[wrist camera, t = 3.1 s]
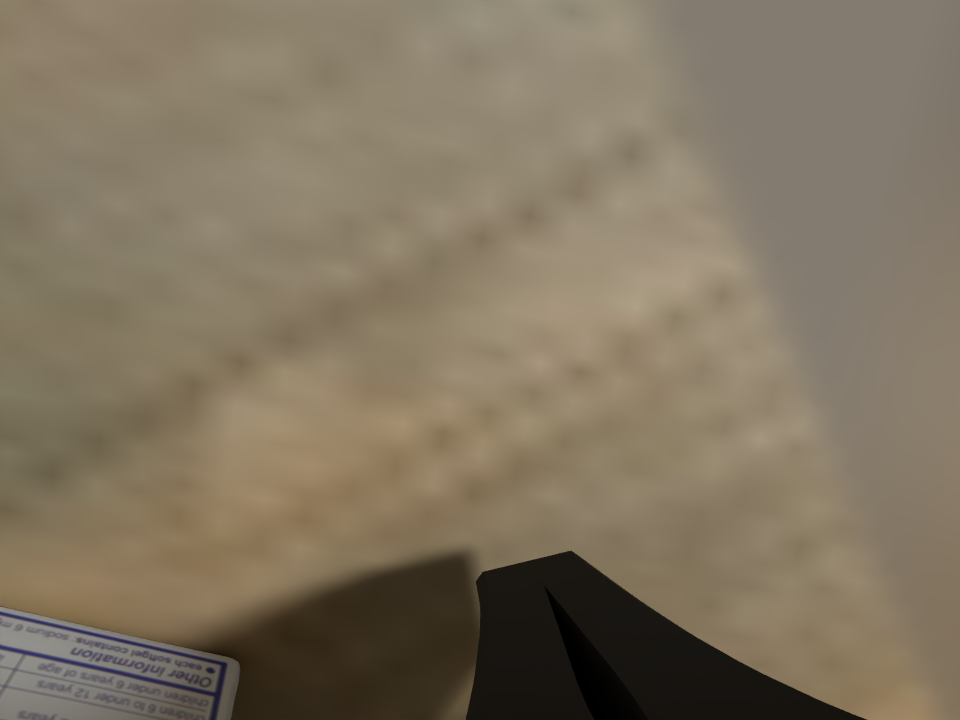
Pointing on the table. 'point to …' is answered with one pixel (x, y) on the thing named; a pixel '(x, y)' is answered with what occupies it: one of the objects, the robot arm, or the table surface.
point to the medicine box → (106, 674)
